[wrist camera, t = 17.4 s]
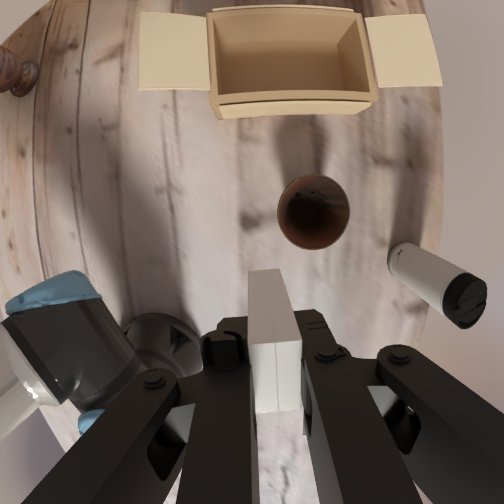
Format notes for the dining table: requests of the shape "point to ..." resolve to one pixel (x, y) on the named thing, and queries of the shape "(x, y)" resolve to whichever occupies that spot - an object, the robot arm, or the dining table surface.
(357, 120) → the dining table surface
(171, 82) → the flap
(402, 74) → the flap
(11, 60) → the mortar and pestle
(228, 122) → the dining table surface
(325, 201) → the cup
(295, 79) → the carton
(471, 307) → the travel mug
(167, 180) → the dining table surface
